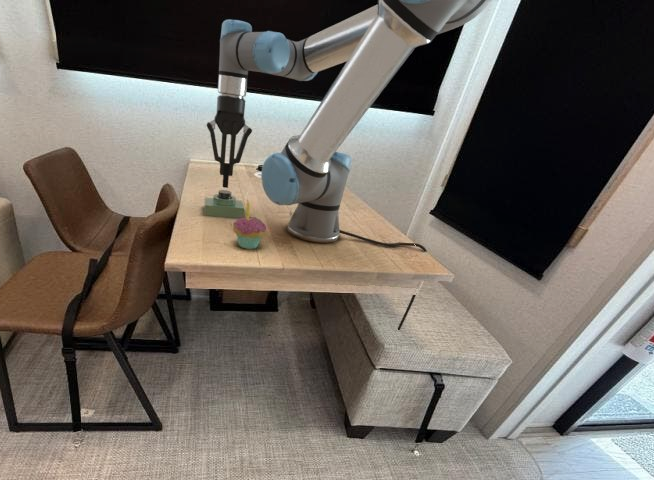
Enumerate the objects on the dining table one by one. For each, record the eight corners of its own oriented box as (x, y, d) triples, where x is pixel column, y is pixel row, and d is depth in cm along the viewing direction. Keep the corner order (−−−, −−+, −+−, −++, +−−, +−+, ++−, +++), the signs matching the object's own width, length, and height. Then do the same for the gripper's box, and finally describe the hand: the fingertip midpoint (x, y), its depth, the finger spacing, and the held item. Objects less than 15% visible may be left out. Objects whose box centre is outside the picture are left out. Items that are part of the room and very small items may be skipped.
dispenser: (241, 210, 108) (242, 195, 106) (243, 218, 102) (245, 202, 99) (204, 207, 106) (205, 191, 104) (204, 215, 100) (205, 198, 97)
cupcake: (250, 254, 79) (256, 205, 73) (224, 243, 83) (227, 196, 77) (270, 246, 85) (277, 200, 79) (245, 236, 89) (250, 191, 83)
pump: (230, 197, 104) (231, 190, 103) (231, 200, 100) (231, 194, 99) (217, 196, 103) (218, 189, 102) (218, 199, 100) (218, 192, 99)
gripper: (253, 99, 92) (244, 185, 104) (207, 92, 89) (203, 181, 102) (257, 100, 85) (247, 191, 98) (207, 92, 83) (203, 187, 96)
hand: (225, 186), depth 100 cm, fingers closed
